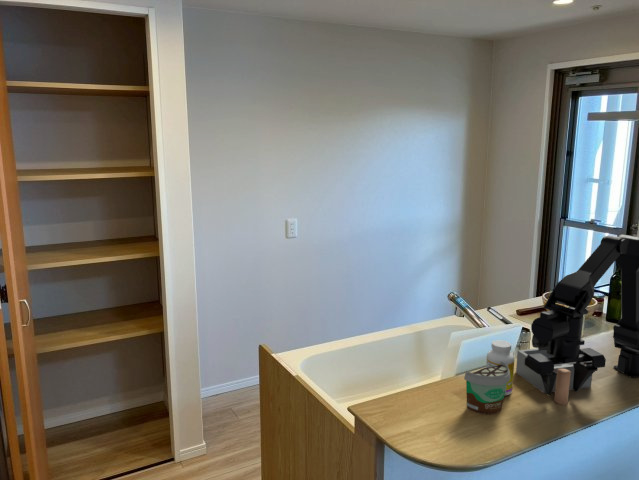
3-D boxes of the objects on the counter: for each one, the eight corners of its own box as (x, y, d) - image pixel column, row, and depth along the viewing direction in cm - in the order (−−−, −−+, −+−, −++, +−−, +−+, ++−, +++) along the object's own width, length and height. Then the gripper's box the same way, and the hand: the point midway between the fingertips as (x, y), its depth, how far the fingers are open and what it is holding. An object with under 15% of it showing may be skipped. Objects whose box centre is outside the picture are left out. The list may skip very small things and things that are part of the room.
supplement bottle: (508, 384, 135) (511, 339, 133) (515, 397, 129) (519, 349, 126) (482, 383, 136) (485, 338, 134) (487, 396, 130) (491, 348, 127)
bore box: (559, 367, 146) (562, 345, 144) (590, 387, 134) (593, 363, 133) (515, 372, 143) (517, 350, 141) (543, 393, 131) (546, 369, 130)
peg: (562, 397, 129) (565, 367, 127) (570, 403, 126) (573, 373, 124) (551, 399, 128) (554, 369, 127) (559, 405, 125) (562, 374, 124)
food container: (480, 422, 118) (483, 382, 116) (462, 409, 123) (464, 371, 121) (519, 409, 123) (522, 370, 121) (499, 397, 129) (502, 360, 127)
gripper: (577, 318, 133) (571, 374, 137) (513, 324, 129) (509, 382, 132) (610, 334, 123) (603, 394, 126) (542, 341, 119) (536, 403, 122)
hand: (561, 392), depth 127 cm, fingers open, 7 cm apart
